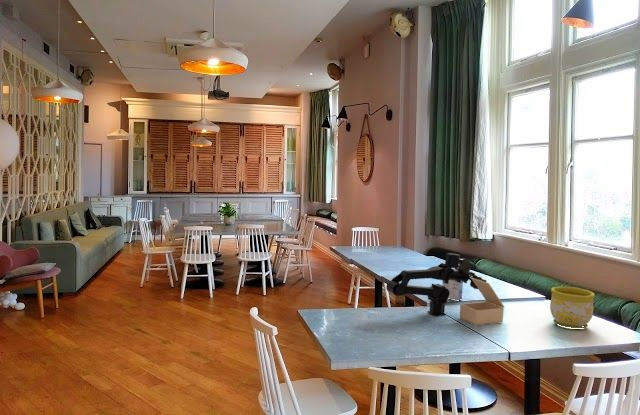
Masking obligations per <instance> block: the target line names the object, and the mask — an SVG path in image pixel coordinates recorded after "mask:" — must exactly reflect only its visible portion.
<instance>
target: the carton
mask: <svg viewBox="0 0 640 415" xmlns="http://www.w3.org/2000/svg"><path fill="white" fill-rule="evenodd" d="M459 305H460V307H459V319H460V320H463V321H465V322H467V323H469V322H470V323H469V324H471V323H472V325H473V324H474V325H473V326H475V325H478V326H482V325H481V324H486V325H491V324H490V323H495V324H500V323H499V322H504V310H505V309H504V308H505V307H504V308H503V307H500V306H497V305H495V304H492V303H490V302H487V301H486V300H485V301H478V302H468V303H467V302H466V303H460V304H459Z"/></svg>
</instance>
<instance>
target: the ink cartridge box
mask: <svg viewBox="0 0 640 415" xmlns="http://www.w3.org/2000/svg"><path fill="white" fill-rule="evenodd" d="M463 284H464V282H461V281H460V283H459V282H457V281H452V280H449V282H448V284H446V283H443V282H442V284H441V285H442V286H444V287H446V288H447V289H448V290H449V297H448V298H450V299H455V300H460V299H462V300H463V290H464V289H463V288H464V286H463Z"/></svg>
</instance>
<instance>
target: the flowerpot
mask: <svg viewBox="0 0 640 415" xmlns="http://www.w3.org/2000/svg"><path fill="white" fill-rule="evenodd" d="M550 291H551V299H550V305H549V309H550V314H551V316H552V317H553V320H552V321H553V323H554V324H555V323H556V324H559V325H561V326H565V327H571V328H585V329H587V328H588V323H589V322H591V320H592V318H593V314H594V298H595V297H596V295H595V294H596V293H594V292H593V291H590V290H588V289H584V288H579V287H573V286H554V287H551V289H550ZM556 324H555V325H556ZM582 326H584V327H582Z"/></svg>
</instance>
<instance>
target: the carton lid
mask: <svg viewBox="0 0 640 415" xmlns="http://www.w3.org/2000/svg"><path fill="white" fill-rule="evenodd" d="M471 279H472V280H473V282H474V283H475V285H476V286H477V288H478V289H477V290H478V291H479V293H480V294H481V296H482V297H483V298H484V300H485V302H486V301H487V302H489V303H492V304H495V305H497V306H500V307H502V308H505V305H504V303H503V302H502V301H501V299H500V298H499V296H498V295H497V293H496V291H495V290H494V289H493V287H492V285H491V284H490V283H489V282H487V281H486V282H484V281H481V280H479V279H475V278H471Z"/></svg>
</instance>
